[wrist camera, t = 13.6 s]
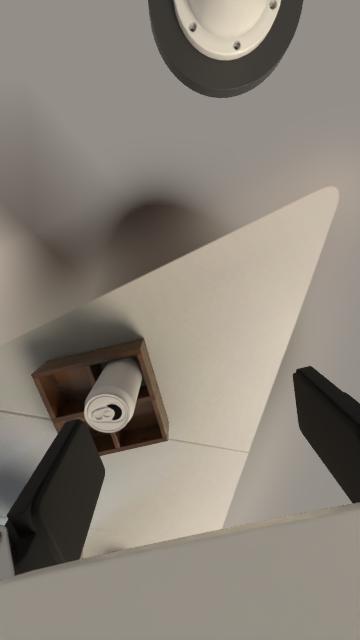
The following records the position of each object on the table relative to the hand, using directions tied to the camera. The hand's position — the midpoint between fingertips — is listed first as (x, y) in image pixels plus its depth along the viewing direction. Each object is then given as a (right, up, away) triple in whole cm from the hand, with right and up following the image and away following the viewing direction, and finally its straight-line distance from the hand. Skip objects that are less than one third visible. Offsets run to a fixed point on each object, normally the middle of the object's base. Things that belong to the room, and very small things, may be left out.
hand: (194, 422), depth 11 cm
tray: (-13, -9, +33) cm, 37 cm away
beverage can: (-10, -4, +31) cm, 33 cm away
